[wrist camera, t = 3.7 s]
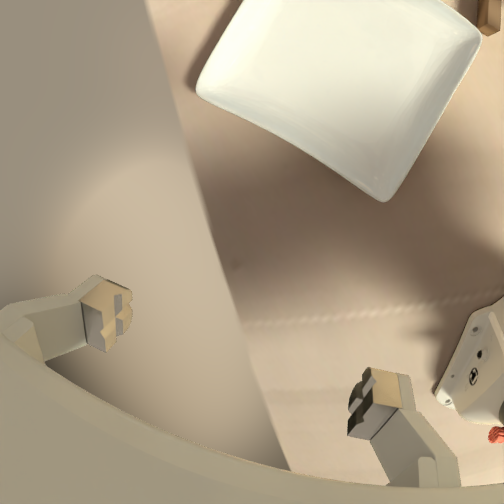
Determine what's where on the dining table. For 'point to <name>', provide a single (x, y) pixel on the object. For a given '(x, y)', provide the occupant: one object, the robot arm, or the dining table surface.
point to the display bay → (489, 16)
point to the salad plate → (343, 79)
